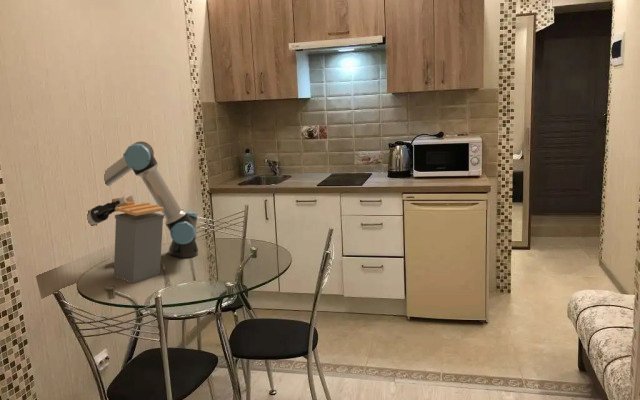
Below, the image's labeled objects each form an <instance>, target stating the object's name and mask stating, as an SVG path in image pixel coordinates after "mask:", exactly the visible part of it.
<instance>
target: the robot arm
mask: <svg viewBox="0 0 640 400" xmlns="http://www.w3.org/2000/svg"><path fill="white" fill-rule="evenodd" d="M154 154H155V153H154V149H153V147H152V145H150V144H149V143H148V142H146V141H136V142H134V143H133V144H131V145H129V146H128V147H127V148H126V149H125V151H124V153H123V155H122V157H121V158H120V159H118V160H117V161H115V162H114V163H113V164H112V165H110V166H108V167H107V168H106V169H107V170H106V169H105V170H106V171H105V170H104V171H105V174H104V181H105V184H106V185H107V186H109V187H111V186H112V185H114V183H117V181H118V180H120V179H121V178H123V177H124V176H126V175H127V174H128V173H130V172H131V171H133V173H134V175H135V176H136V177H137V176H138V177H140V178H141V180H142V181H143V183H144V184H145V186H146V189H147V190H148V192H149V193H150V195H151V196H152V197H153V199H154V202H155V203H156V205H158V206H159V207H163V208H164V210H163V211H161V212H162V215H164V218H165V223H164V224H165V225H166V228H167V229H168V231H169V234H170V238H171V243H170V246H169V247H168V255H169V256H172V257H175V258H180V259H181V258H182V259H183V258H184V259H186V258H187V259H189V258H194V257H197V256H198V255H199V247H198V244H197V240H196V239H197V224H198V223H197V222H198V214H197V213H198V212H195V211H190V210H182V208H181V206H180V205H179V203H178V201H177V200H176V198H175V197H174V195H173V193H172V191H171V190H170V188H169V186H168V185H167V183H166V181H165V180H164V178H163V176H162V175H161V173H160V171H159V170H158V166H159V163H158V161H157V160H156V157H155V156H154ZM119 198H120V199H118V200H116V201H114V202H112V201H111V202H107V203H105V204H104V205H100V204H99V205H97V206H94V207H93V208H90V209H89V210H87V211H88V214H87V220H88V223H89V224H90V225H91V226H93V227H94V226H98V224H100V223H103V222H105V221H106V220H108V218H109V217H110V215H112V214H113V213H115V212H116V213H117V212H119V211H116V210H115V207H120V205H122V204H124V203H126V202H127V201H126V200H129V201H133V202H135V200H136V199H135V197H134V195H133V194H132V195H129V196H127V197H126V196H124V195H123V196H122V197H119Z"/></svg>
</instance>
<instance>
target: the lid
mask: <svg viewBox="0 0 640 400" xmlns="http://www.w3.org/2000/svg"><path fill="white" fill-rule="evenodd" d="M120 198H121V197H117V198H112V199H111V202H114V201H116V200H118V199H120ZM126 201H127V202H126V203H124V204H122V205H120V207H115V210H116V211H115V212H117V211H118V212H121V213H128V214H131V215H135V216H137V215H142V214H147V213H153V212H154V213H158V212H162V211H163V210H164V208H163V207H159V206H158V205H157V204H151V203H150V202H147V203H146V202H139V203H135V201H129V200H126Z"/></svg>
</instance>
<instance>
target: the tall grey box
mask: <svg viewBox="0 0 640 400" xmlns="http://www.w3.org/2000/svg"><path fill="white" fill-rule="evenodd" d="M164 218H165V216H164V215H163V213H162V214H160V213H158V212H153V213H147V214H142V215H137V216H135V215H131V214H128V213H124V212H122V213H118V214H114V219H115V231H114V232H115V233H114V234H115V236H114V237H115V238H114V264H113V277H114V276H115V277H114V278H117V277H118V278H117V279H120V278H123V279H125V280H128V281H130V282H129V283H131V282H132V283H131V284H135V283H139V282H142V281H144V280H147V279H151V278H154V277H156V276H159V275H160V274H161V260H162V258H161V257H162V245H163V244H162V243H163V224H164V223H163V222H164V221H163V220H164ZM125 280H124V281H125ZM128 281H127V282H128Z"/></svg>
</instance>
